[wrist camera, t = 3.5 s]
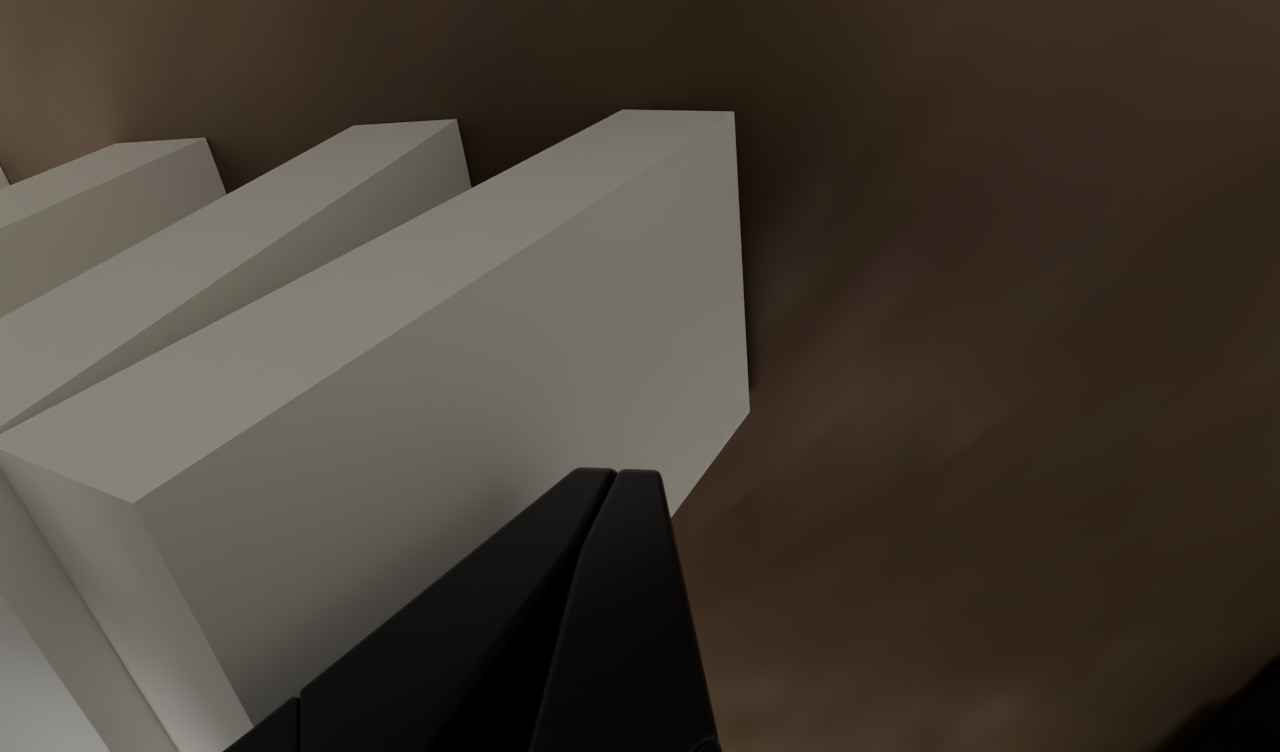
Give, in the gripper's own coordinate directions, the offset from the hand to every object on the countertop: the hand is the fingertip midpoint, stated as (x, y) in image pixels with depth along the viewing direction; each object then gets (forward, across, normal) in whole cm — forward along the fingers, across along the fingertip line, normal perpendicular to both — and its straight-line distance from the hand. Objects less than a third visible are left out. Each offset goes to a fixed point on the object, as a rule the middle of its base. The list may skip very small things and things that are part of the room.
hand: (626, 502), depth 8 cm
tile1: (+6, 0, 0) cm, 6 cm away
